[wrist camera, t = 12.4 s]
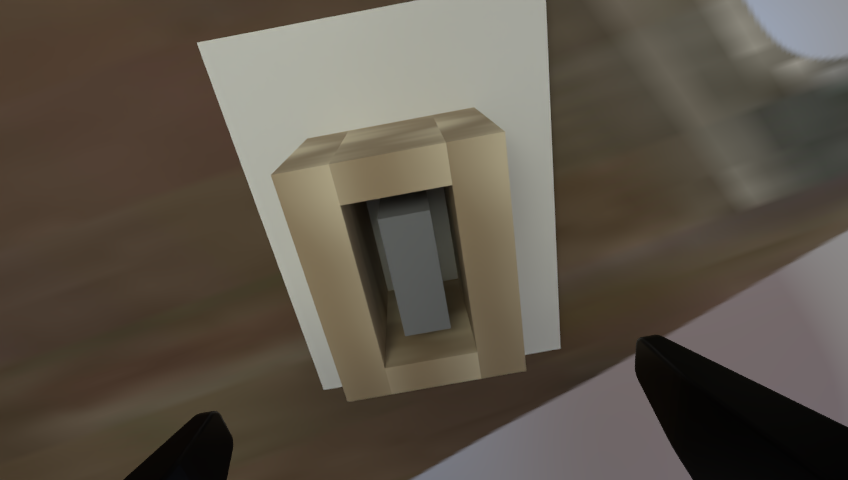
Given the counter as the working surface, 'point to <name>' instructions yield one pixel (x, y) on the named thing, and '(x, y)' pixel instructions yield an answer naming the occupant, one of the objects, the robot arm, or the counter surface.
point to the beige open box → (360, 262)
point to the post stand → (391, 102)
